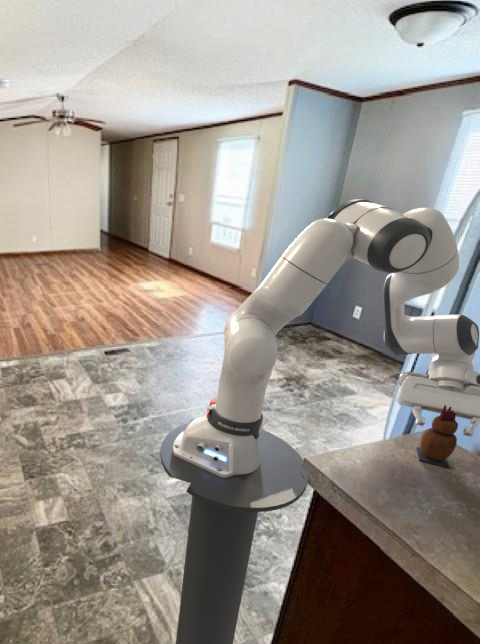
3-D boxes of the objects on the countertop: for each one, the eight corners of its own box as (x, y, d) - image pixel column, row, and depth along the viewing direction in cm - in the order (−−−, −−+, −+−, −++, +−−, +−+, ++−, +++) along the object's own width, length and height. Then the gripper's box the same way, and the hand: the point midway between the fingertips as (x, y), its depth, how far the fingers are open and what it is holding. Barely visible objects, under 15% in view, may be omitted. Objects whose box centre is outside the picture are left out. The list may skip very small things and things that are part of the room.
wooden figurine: (420, 460, 105) (441, 408, 99) (412, 447, 110) (431, 397, 104) (452, 466, 103) (475, 413, 98) (442, 452, 109) (463, 401, 103)
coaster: (418, 460, 106) (419, 459, 106) (416, 448, 111) (416, 447, 111) (448, 468, 103) (449, 466, 103) (444, 455, 108) (445, 453, 108)
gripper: (403, 365, 109) (395, 415, 105) (507, 383, 100) (503, 438, 96) (397, 374, 115) (389, 422, 111) (495, 392, 105) (491, 444, 101)
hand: (443, 429), depth 103 cm, fingers open, 8 cm apart
